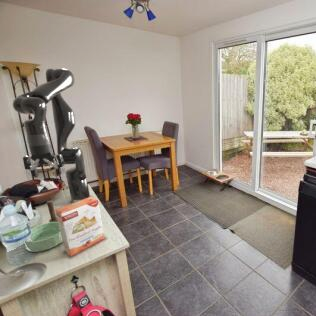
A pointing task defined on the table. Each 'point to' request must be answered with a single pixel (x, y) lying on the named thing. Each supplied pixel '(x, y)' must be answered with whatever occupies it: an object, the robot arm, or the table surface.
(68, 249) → the cracker box
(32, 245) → the bowl
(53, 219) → the pestle
